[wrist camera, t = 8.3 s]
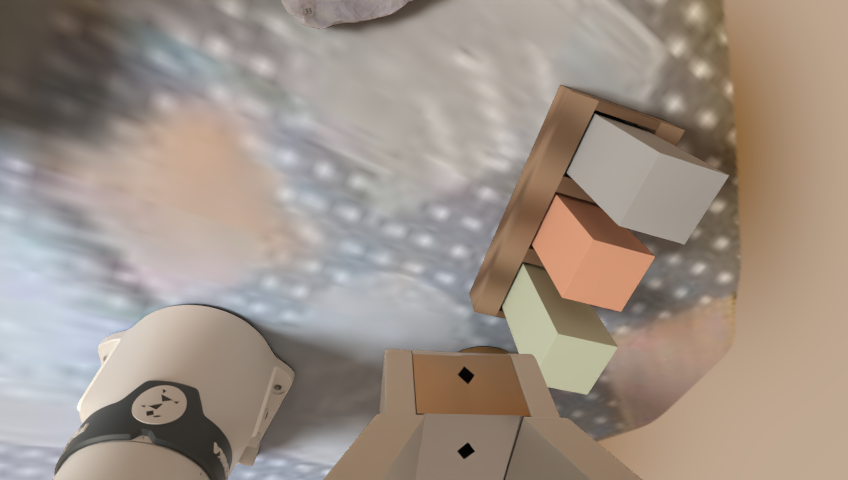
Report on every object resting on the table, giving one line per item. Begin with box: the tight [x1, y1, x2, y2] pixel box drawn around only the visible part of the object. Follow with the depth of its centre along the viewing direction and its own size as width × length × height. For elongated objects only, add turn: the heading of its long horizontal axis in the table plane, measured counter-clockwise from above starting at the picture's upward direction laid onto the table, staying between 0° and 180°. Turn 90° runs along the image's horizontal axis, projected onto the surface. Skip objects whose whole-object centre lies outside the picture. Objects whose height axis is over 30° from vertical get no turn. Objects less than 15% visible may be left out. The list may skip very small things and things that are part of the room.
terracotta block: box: [531, 192, 655, 312], centre depth 38 cm, size 5×5×10 cm
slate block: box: [566, 113, 729, 245], centre depth 34 cm, size 5×5×10 cm
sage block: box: [502, 262, 618, 395], centre depth 40 cm, size 5×5×10 cm
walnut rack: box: [469, 85, 685, 319], centre depth 42 cm, size 21×10×3 cm, turn 162°
